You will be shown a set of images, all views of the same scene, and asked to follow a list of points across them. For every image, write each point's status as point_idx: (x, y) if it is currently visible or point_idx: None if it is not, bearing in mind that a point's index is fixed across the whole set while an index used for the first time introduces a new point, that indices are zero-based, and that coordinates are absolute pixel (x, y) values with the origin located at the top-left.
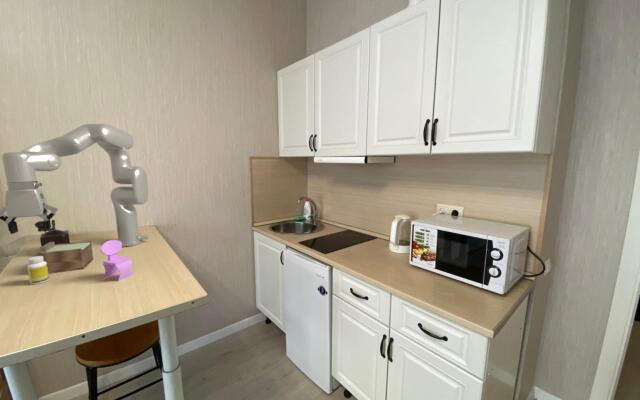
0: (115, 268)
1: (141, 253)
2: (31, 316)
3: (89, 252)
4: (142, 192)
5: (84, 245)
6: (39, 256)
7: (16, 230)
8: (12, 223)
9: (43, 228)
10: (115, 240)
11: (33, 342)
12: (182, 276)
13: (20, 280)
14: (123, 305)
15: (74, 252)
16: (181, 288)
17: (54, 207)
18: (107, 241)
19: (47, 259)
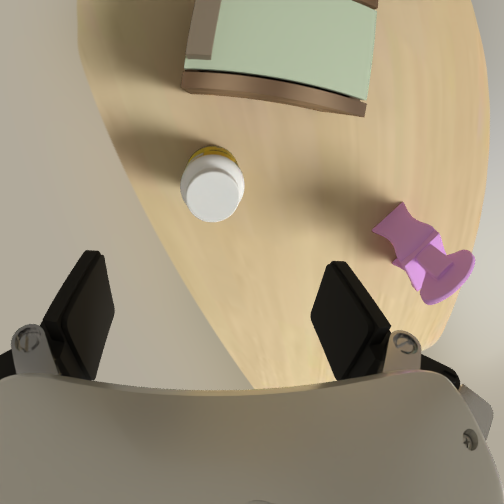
0: (407, 218)
1: (450, 72)
2: (262, 350)
3: None
4: None
5: (367, 50)
6: (221, 180)
7: (101, 279)
8: (89, 372)
9: (317, 332)
10: (470, 272)
11: None
12: None
13: (144, 129)
14: None
15: (335, 109)
16: (436, 322)
17: (485, 433)
18: (455, 291)
19: (220, 91)
